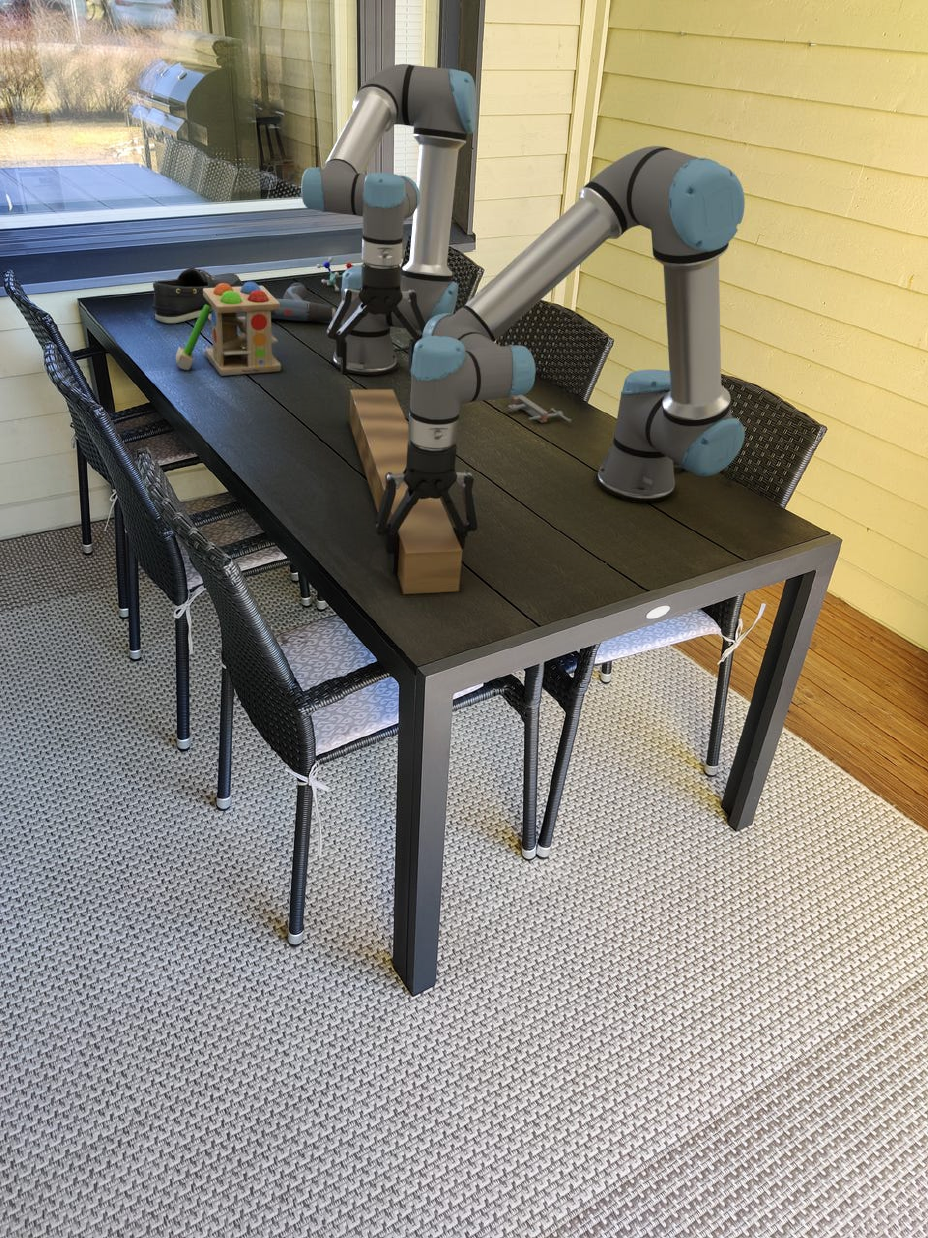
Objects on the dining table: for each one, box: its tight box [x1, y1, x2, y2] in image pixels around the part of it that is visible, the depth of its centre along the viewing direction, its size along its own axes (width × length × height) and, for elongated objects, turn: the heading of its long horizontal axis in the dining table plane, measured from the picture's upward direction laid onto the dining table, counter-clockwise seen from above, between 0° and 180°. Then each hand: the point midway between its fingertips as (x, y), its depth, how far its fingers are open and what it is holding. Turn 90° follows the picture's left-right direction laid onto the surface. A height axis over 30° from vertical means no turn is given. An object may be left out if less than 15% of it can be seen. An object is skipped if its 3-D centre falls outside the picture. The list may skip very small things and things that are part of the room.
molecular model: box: [316, 256, 358, 293], centre depth 287 cm, size 12×10×10 cm
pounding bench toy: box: [174, 281, 282, 377], centre depth 225 cm, size 23×14×18 cm, turn 116°
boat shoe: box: [152, 267, 243, 324], centre depth 261 cm, size 13×33×10 cm, turn 147°
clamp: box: [506, 394, 572, 424], centre depth 219 cm, size 15×2×10 cm
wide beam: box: [349, 388, 463, 595], centre depth 181 cm, size 67×9×8 cm, turn 13°
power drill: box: [271, 282, 337, 323], centre depth 265 cm, size 5×19×20 cm
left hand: (377, 373), depth 196 cm, fingers open, 13 cm apart
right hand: (423, 567), depth 162 cm, fingers closed on wide beam, 9 cm apart
